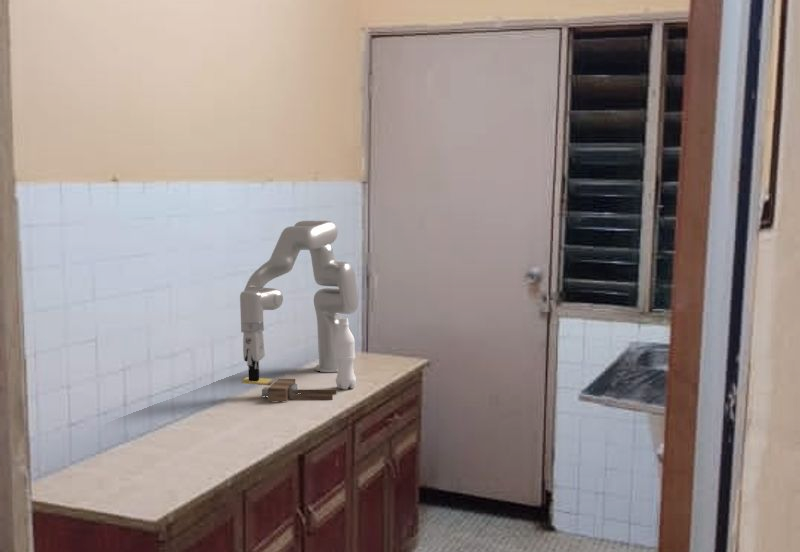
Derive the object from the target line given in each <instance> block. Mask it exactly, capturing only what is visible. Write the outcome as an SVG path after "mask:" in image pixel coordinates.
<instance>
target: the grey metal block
mask: <svg viewBox="0 0 800 552" xmlns="http://www.w3.org/2000/svg"><path fill="white" fill-rule="evenodd" d="M269 387H270V386H269ZM269 387H267V386H266V387H263V388H262V389H261V397H262V396H265V397H266V396H268V388H269ZM297 390H298V383H295V384H293V385H292V386H291V387H289V398H291V395H297V394H298V392H297ZM298 395H299V394H298Z"/></svg>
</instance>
